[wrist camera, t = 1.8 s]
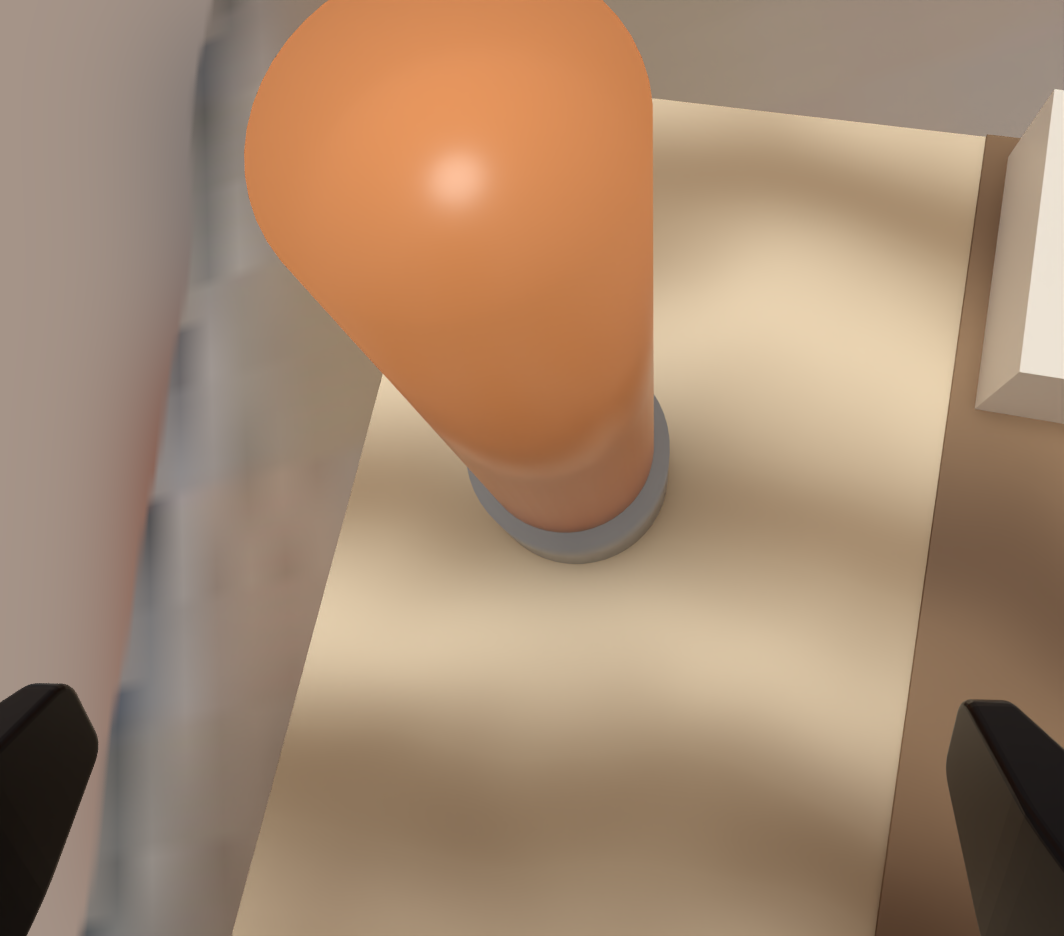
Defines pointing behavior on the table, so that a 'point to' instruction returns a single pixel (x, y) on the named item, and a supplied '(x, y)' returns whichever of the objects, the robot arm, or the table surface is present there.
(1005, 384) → the block
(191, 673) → the table surface
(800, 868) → the subfloor board
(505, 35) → the awl
